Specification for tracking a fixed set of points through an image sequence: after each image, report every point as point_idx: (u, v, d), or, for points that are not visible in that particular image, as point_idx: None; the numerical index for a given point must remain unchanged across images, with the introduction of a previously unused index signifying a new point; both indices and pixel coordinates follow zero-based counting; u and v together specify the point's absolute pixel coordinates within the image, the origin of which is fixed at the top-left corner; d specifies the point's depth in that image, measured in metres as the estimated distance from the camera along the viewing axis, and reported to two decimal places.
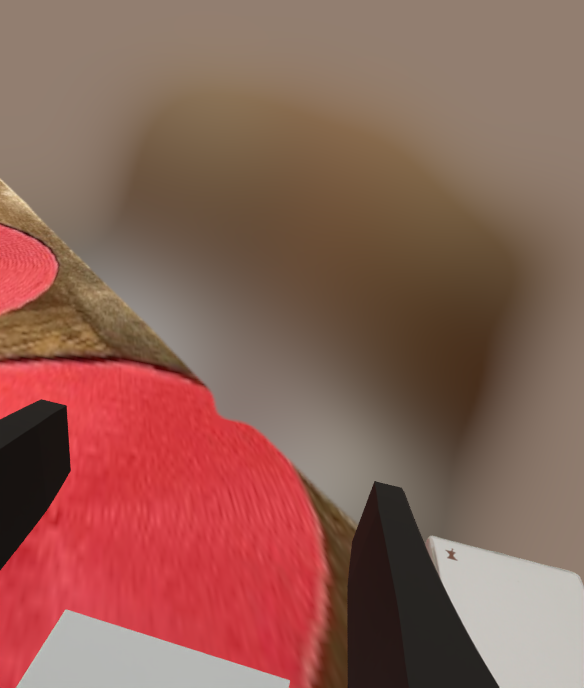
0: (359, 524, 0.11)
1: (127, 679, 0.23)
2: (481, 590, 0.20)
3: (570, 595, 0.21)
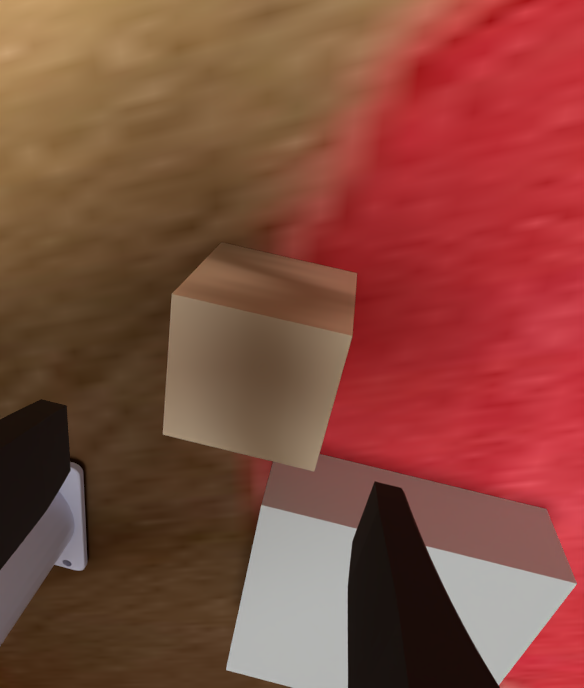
0: (359, 524, 0.11)
1: (475, 635, 0.20)
2: None
3: None
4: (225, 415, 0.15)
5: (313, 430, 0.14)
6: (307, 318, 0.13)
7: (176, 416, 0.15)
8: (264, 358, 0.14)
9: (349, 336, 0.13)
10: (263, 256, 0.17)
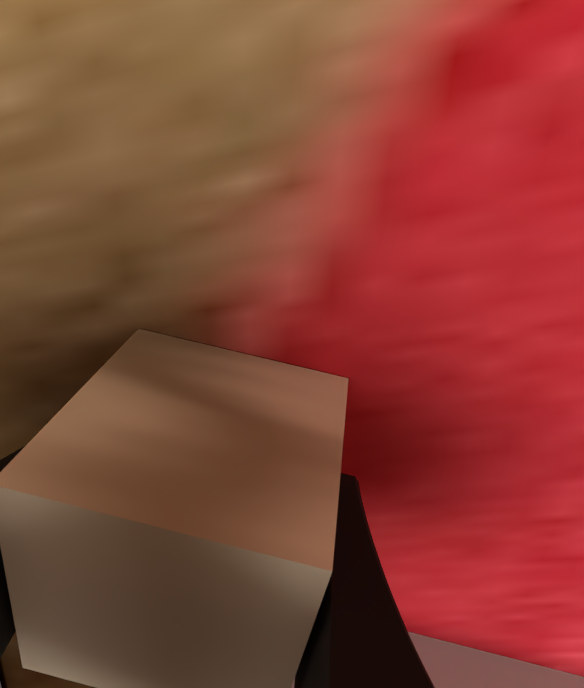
0: None
1: None
2: None
3: None
4: (117, 656, 0.09)
5: None
6: (251, 524, 0.07)
7: (38, 648, 0.09)
8: (172, 590, 0.07)
9: (326, 572, 0.07)
10: (199, 356, 0.11)
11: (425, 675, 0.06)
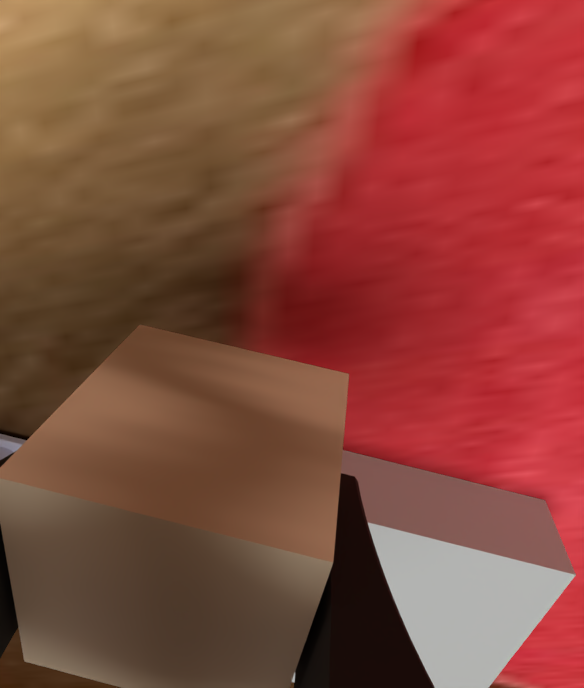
0: None
1: (472, 628, 0.20)
2: None
3: None
4: (119, 649, 0.09)
5: (269, 680, 0.08)
6: (251, 517, 0.07)
7: (40, 642, 0.09)
8: (174, 581, 0.07)
9: (327, 564, 0.07)
10: (201, 351, 0.11)
11: (425, 675, 0.06)
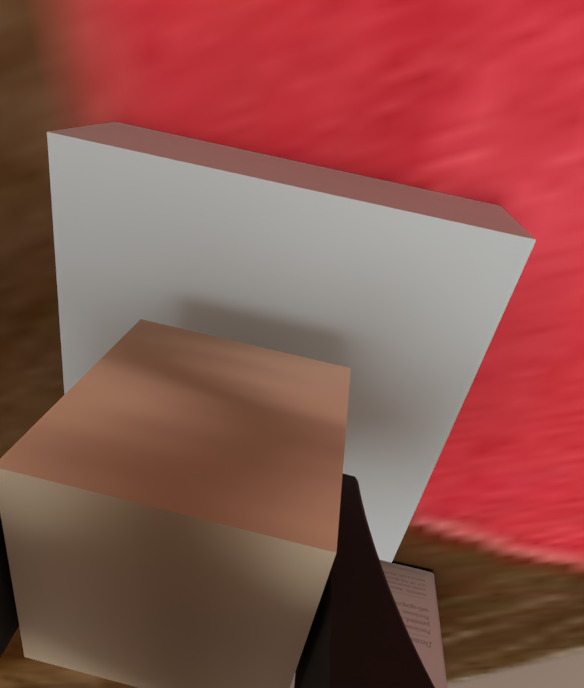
0: None
1: (393, 374, 0.13)
2: None
3: None
4: (120, 643, 0.09)
5: (271, 675, 0.08)
6: (253, 508, 0.07)
7: (41, 637, 0.09)
8: (175, 574, 0.07)
9: (330, 554, 0.07)
10: (202, 345, 0.11)
11: (425, 675, 0.06)
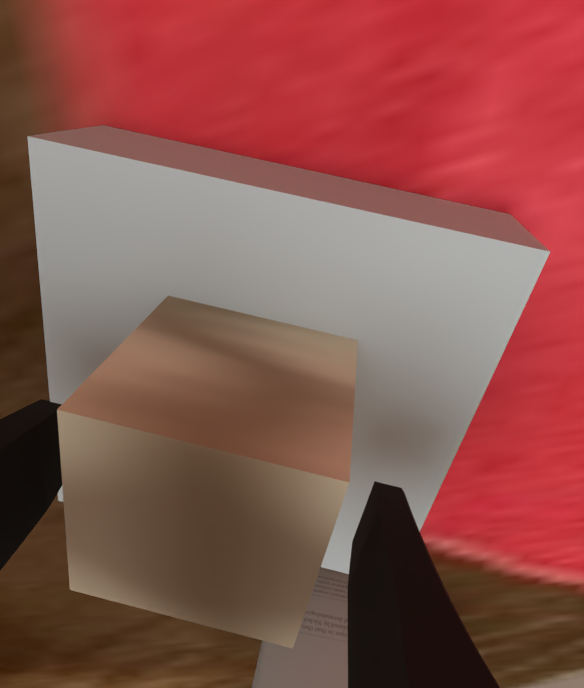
0: (359, 524, 0.11)
1: (396, 392, 0.13)
2: None
3: None
4: (156, 574, 0.10)
5: (289, 600, 0.10)
6: (278, 447, 0.08)
7: (86, 569, 0.10)
8: (210, 505, 0.09)
9: (344, 483, 0.08)
10: (224, 318, 0.12)
11: None
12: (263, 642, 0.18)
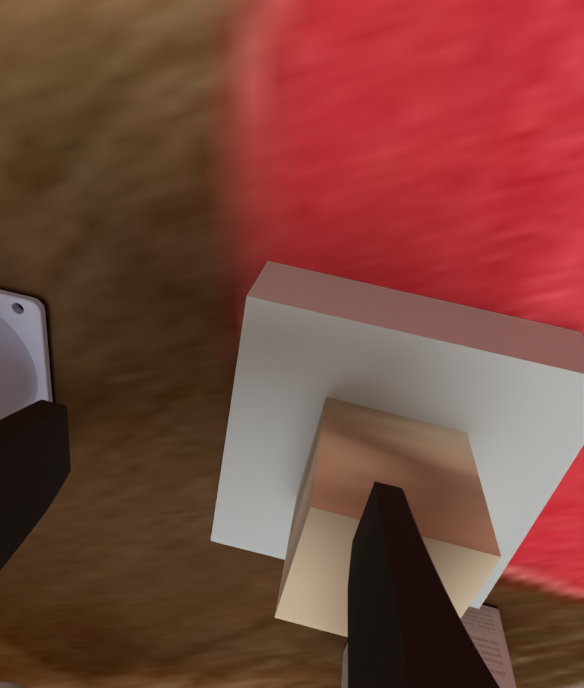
0: (359, 524, 0.11)
1: (498, 470, 0.17)
2: None
3: None
4: (345, 608, 0.14)
5: None
6: (450, 531, 0.13)
7: (292, 604, 0.14)
8: None
9: (498, 557, 0.12)
10: (372, 417, 0.16)
11: None
12: None
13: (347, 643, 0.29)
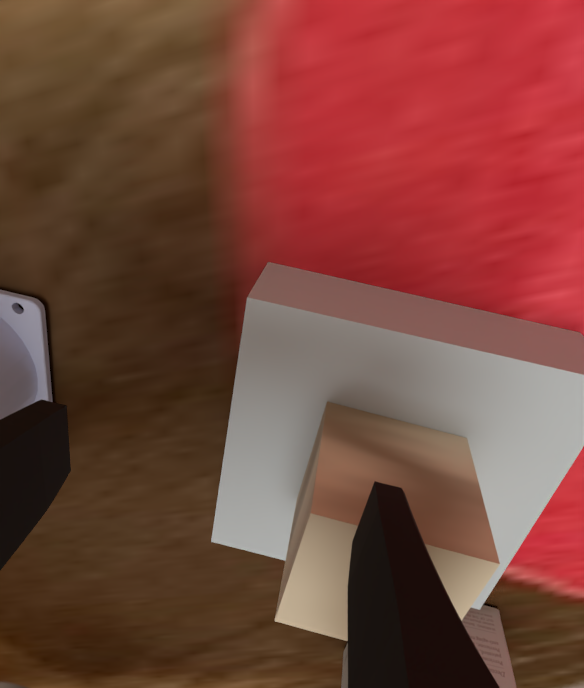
0: (359, 524, 0.11)
1: (499, 471, 0.17)
2: None
3: None
4: (345, 612, 0.14)
5: None
6: (449, 538, 0.13)
7: (292, 608, 0.14)
8: None
9: (497, 564, 0.12)
10: (373, 422, 0.16)
11: None
12: None
13: (347, 643, 0.29)
